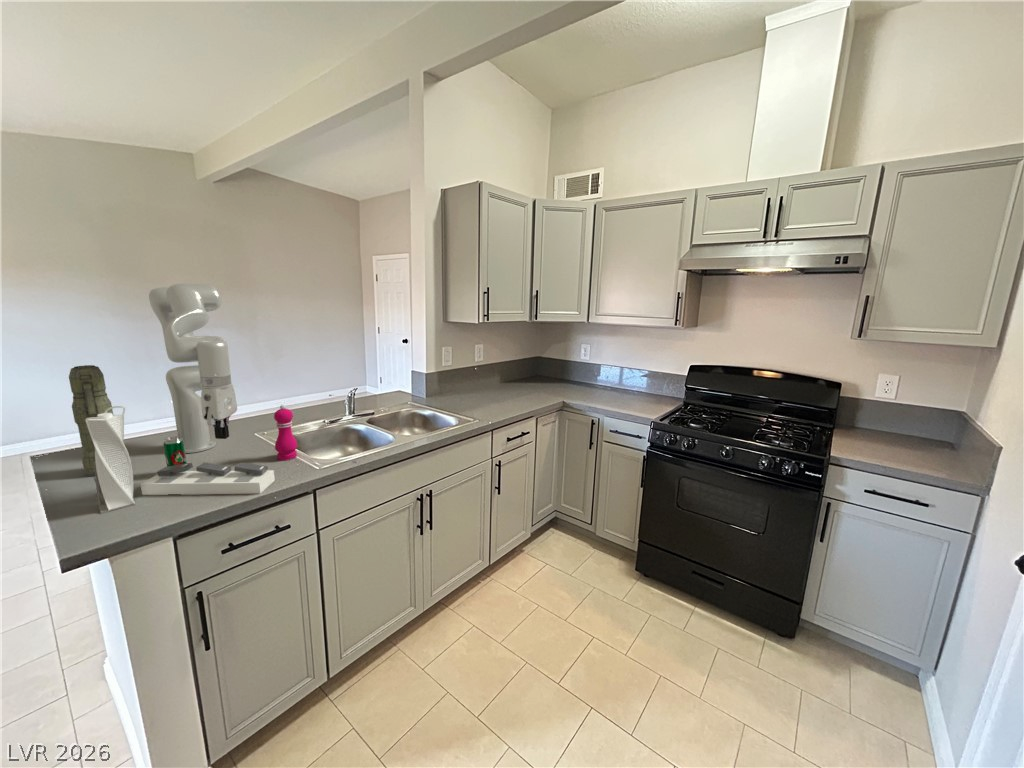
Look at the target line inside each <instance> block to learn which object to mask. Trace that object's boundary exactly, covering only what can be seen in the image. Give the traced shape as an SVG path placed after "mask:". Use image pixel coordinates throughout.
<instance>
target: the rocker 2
mask: <svg viewBox="0 0 1024 768" xmlns="http://www.w3.org/2000/svg"><path fill="white" fill-rule="evenodd" d="M267 470H269V466H268V465H263V464H255V463H250V462H249V463H248V462H240V463H237V465H236V466H234V469H233V471H237V472H244V473H246V474H247V475H249V474H250V473H251V474H257V475H262V474H264V473H265V472H266V471H267Z"/></svg>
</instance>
